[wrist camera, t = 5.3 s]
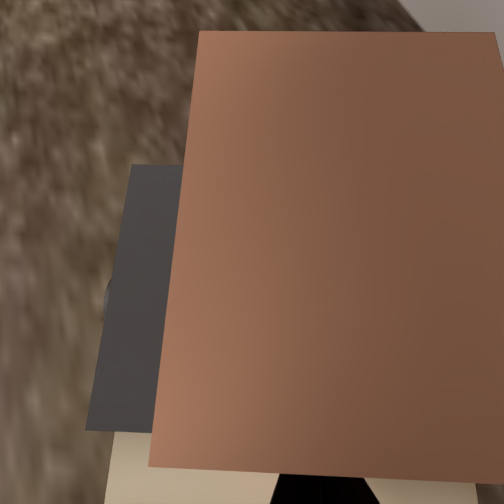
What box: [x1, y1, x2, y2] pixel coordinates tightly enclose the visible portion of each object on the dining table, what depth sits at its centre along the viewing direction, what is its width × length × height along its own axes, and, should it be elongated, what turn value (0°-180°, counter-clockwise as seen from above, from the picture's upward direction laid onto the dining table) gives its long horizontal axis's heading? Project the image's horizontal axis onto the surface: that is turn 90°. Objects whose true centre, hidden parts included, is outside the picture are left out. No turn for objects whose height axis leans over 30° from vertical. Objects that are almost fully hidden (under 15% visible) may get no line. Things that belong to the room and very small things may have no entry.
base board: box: [104, 432, 478, 504], centre depth 15 cm, size 19×14×1 cm
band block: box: [85, 164, 184, 433], centre depth 14 cm, size 8×13×6 cm, turn 88°
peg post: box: [148, 31, 504, 485], centre depth 10 cm, size 6×4×12 cm
